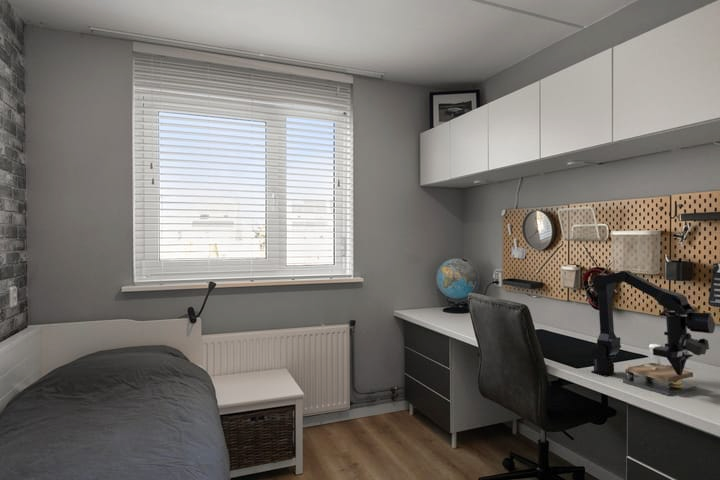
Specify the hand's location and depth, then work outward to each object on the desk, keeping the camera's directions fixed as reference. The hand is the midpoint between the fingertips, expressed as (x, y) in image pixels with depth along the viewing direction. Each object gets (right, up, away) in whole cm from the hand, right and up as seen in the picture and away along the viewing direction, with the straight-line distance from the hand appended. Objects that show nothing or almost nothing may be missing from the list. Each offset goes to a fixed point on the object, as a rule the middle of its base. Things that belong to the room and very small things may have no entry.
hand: (679, 374), depth 151 cm
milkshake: (+14, -7, +32) cm, 36 cm away
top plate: (-3, -2, +7) cm, 8 cm away
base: (-3, -6, +6) cm, 9 cm away
